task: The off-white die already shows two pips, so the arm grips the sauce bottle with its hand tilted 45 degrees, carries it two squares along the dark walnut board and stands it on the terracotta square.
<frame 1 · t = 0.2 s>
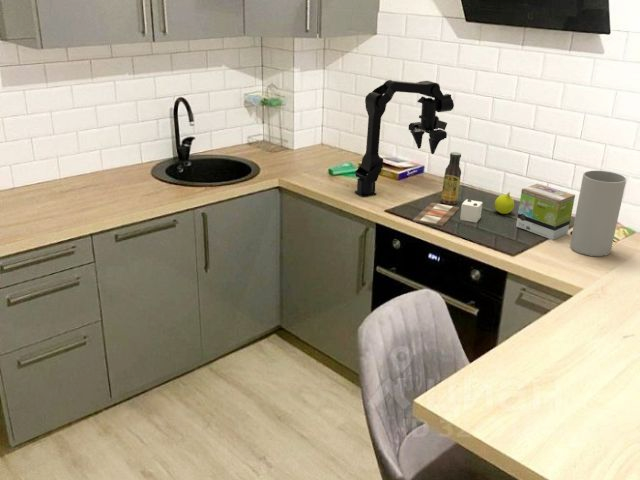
hand: (425, 151, 263), 15 cm above the countertop, tool pointing down, fingers open, 9 cm apart
yellow-green round fruit: (503, 213, 239), on the countertop
cylinder vase: (589, 250, 210), on the countertop
sauce bottle: (449, 203, 249), on the countertop
walnut board: (436, 214, 236), on the countertop
tea box: (541, 231, 224), on the countertop
die: (470, 218, 233), on the countertop
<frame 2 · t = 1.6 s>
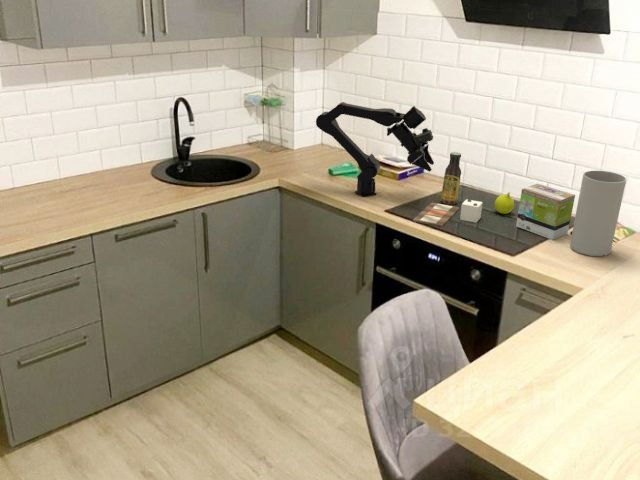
hand: (432, 167, 245), 14 cm above the countertop, tool tilted 45°, fingers open, 9 cm apart
nothing on the countertop moved.
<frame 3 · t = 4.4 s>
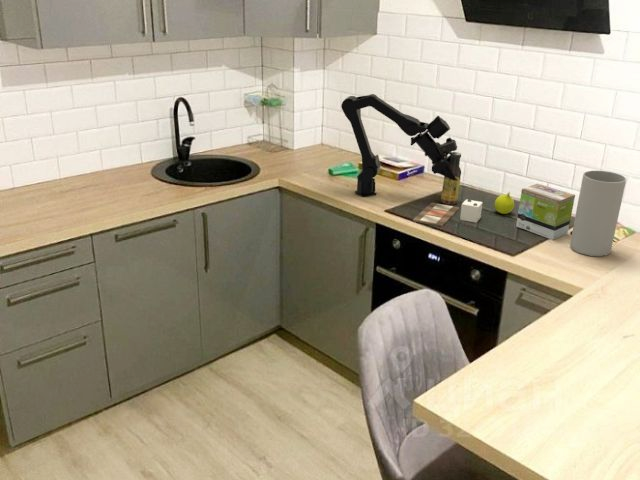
hand: (455, 177, 244), 11 cm above the countertop, tool tilted 45°, fingers closed on sauce bottle, 6 cm apart
sauce bottle: (449, 203, 249), on the countertop, touching gripper
everything else where it was.
when the fingers open (12 cm above the countertop, at t = 7.9 s): sauce bottle stays where it is, resting on walnut board.
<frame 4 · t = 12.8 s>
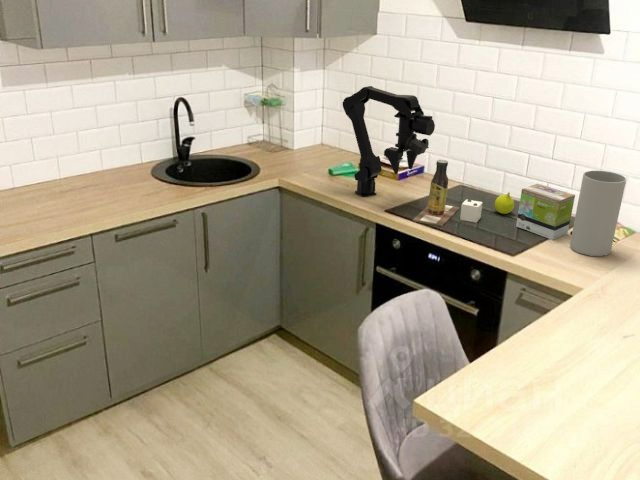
hand: (403, 171, 241), 13 cm above the countertop, tool pointing down, fingers open, 9 cm apart
sauce bottle: (436, 213, 236), point 1 cm above the countertop, touching walnut board
everything else where it was.
at the end: sauce bottle 0.3 cm off-centre on the walnut board, point 0.6 cm above the walnut board's base; sauce bottle tilted 0°; the gripper is holding nothing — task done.
